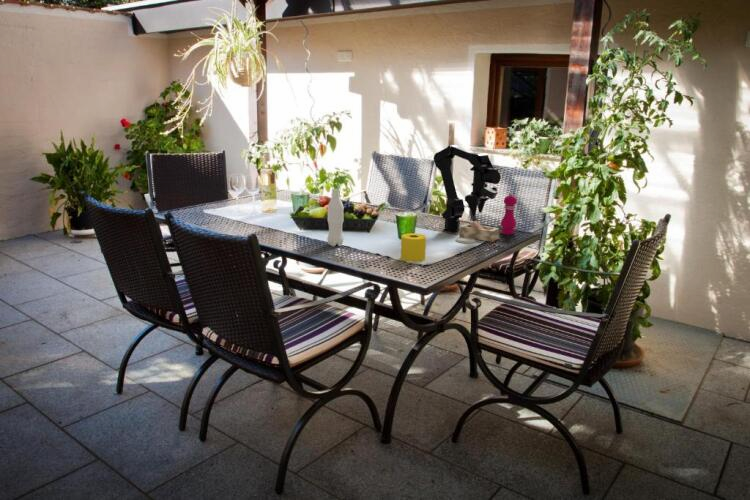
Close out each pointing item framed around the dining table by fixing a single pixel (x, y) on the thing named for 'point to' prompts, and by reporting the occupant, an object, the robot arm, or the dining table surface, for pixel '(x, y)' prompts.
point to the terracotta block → (476, 225)
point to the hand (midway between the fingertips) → (477, 214)
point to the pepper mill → (509, 215)
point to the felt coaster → (465, 240)
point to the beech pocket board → (479, 232)
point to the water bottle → (335, 219)
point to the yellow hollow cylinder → (413, 247)
